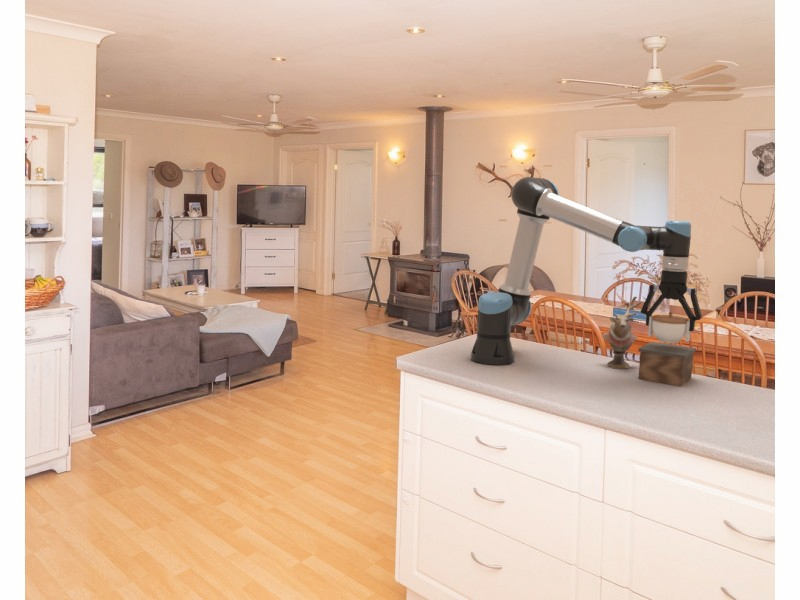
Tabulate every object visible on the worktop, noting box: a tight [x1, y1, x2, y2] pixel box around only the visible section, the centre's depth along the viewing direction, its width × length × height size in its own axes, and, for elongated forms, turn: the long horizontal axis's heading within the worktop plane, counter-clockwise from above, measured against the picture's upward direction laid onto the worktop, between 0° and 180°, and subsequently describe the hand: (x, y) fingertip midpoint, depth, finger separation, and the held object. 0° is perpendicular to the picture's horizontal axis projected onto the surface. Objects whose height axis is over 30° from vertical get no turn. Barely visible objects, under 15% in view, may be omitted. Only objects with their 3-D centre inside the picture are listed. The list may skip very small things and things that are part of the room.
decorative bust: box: [601, 296, 642, 370], centre depth 217 cm, size 11×13×25 cm
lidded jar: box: [651, 311, 689, 344], centre depth 203 cm, size 11×11×9 cm
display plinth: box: [637, 341, 697, 387], centre depth 205 cm, size 14×14×10 cm
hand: (668, 338), depth 204 cm, fingers closed on lidded jar, 11 cm apart
